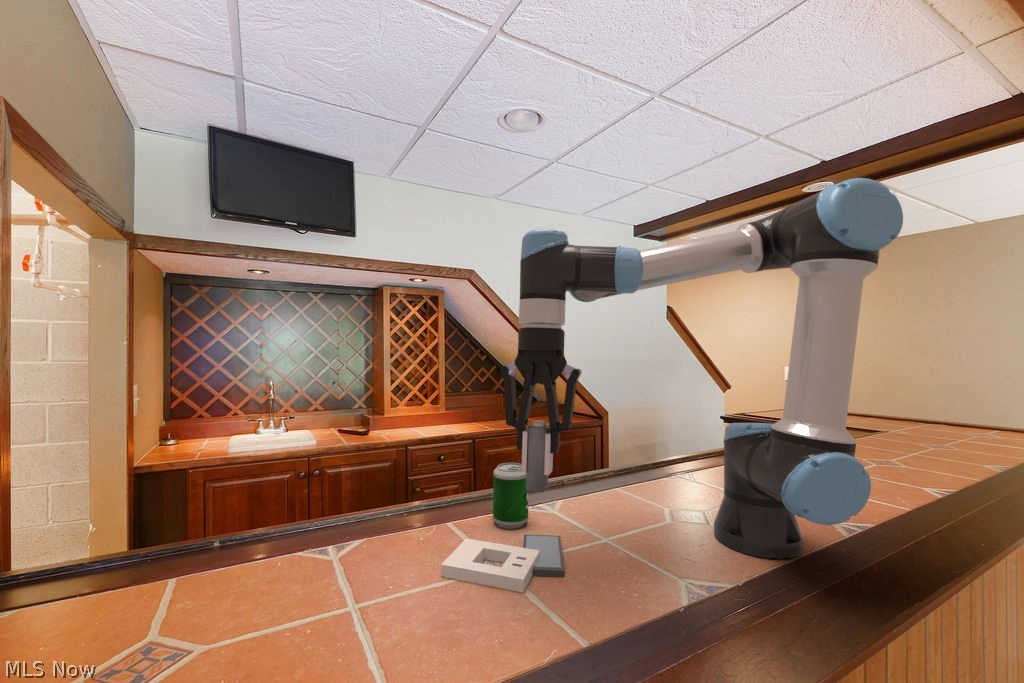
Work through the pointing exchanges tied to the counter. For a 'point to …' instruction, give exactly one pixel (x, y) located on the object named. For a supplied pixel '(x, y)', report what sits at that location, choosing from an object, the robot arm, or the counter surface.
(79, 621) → the counter surface
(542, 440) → the plug
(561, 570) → the phone
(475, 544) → the outlet
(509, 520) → the soda can
